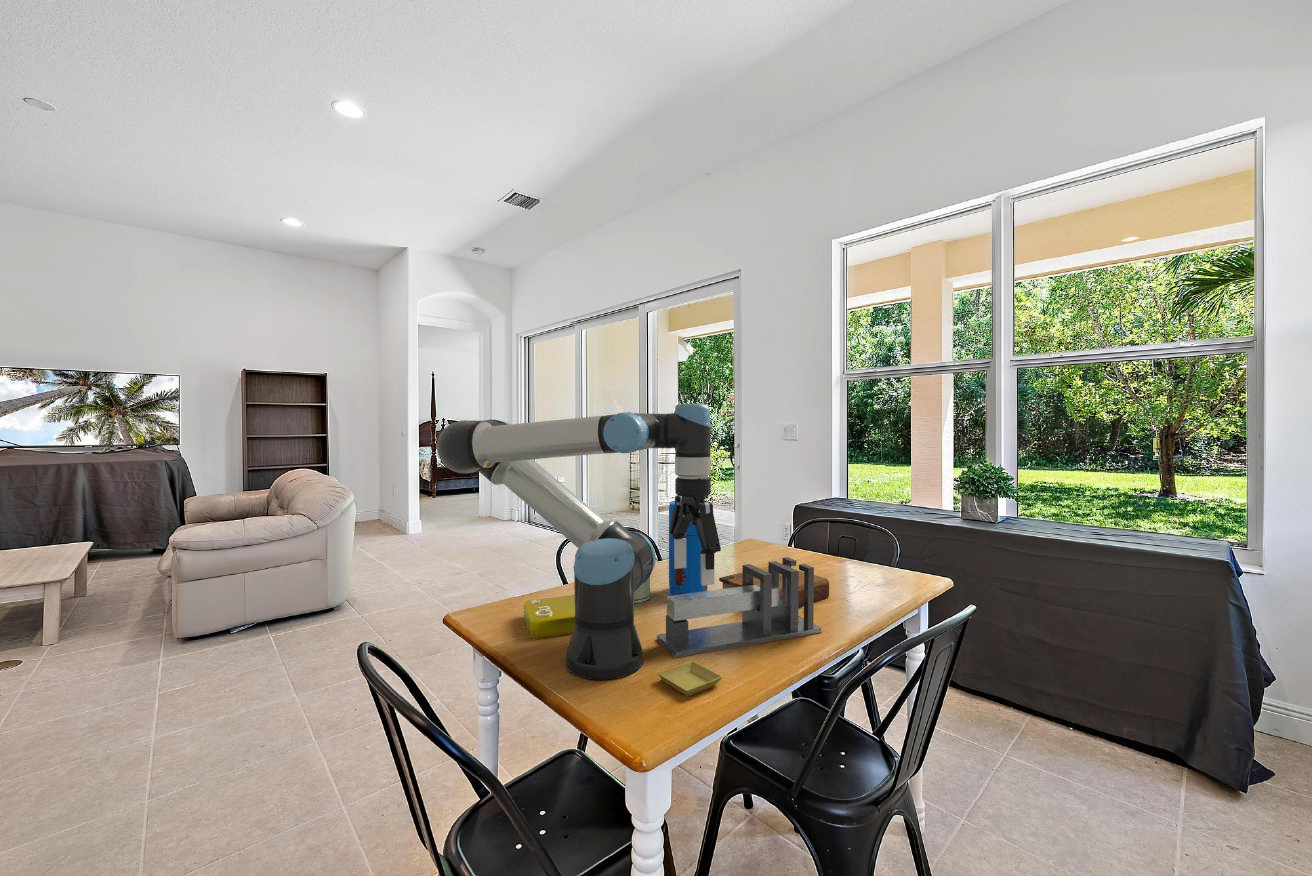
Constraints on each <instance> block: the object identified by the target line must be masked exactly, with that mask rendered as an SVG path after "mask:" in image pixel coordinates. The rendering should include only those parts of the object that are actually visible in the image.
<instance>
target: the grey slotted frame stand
mask: <svg viewBox="0 0 1312 876" xmlns="http://www.w3.org/2000/svg"><path fill="white" fill-rule="evenodd" d="M781 561H782V563H781V562H778V561H776V560H774V561H768V563H767V564H768V565H767V566H768V572H766V571H764V570H762V569H760V568H761V567H760V568H759V567H757V566H755V565H753V564H750V563H747V564H746V563H745V564H742V568H741V570H742V572H741V573H742V587H743V586H751V585H753V577H755V578H757V579H759V580H760V609H753V610H747V611H741V614H742V615H741V621H738V622H737V621H736V622H731V623H725V624H718V625H711V626H705V627H700V628H693V629H692V628H690V629H689V621H688V619H685V620H678V621H674V620H672V619H671V618H670V617H669V616H668V615H667V614H666V615H665V633H659V634H657V635H656V637H657V638H656V639H657V641H659V643H660V644H662V646H664V648H665V649H666V650H668V651H669V653H670V654H671V655H672V656H673V657H674V658H681V657H686V656H691V655H697V654H703V653H710V652H714V651H715V652H717V651H722V650H728V649H733V648H738V647H744V646H751V645H757V644H761V643H766V642H767V643H768V642H773V641H780V640H785V639H792V638H797V637H802V636H807V635H814V634H821V633H822V631H823V630H822V627H821V626H819V625H817V624H815V623H814V607H815V605H814V603H815V602H814V575H815V567H814V566H811V565H809V564H806V563H800V564H798V570H797V569H795V568H793V567H796V566H797V560H796V559H793V558H791V557H788V556H786V557H785V556H784V557H782V560H781ZM799 571H801V572H804V605H803V617H802V616H800V615H799V607H798V586H799ZM779 573H780V574H782V600H781V599H780V606H774V607H772V608H771V605H772V584H774V585H776V586H778V587H779Z"/></svg>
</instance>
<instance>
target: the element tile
mask: <svg viewBox="0 0 1312 876" xmlns="http://www.w3.org/2000/svg"><path fill="white" fill-rule="evenodd" d="M523 621H524V623H525V626H526V628H527V631H528V634H529V637H531V638H533V637H535V638H534V639H544V638H543V637H545V638H551V637H557V636H565V635H572V633H573V629H574V626H575V594H573V595H564V596H555V597H548V598H539V599H538V598H537V599H529V600H525V602H524V603H523Z"/></svg>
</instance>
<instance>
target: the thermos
mask: <svg viewBox="0 0 1312 876" xmlns="http://www.w3.org/2000/svg"><path fill="white" fill-rule="evenodd" d="M705 503H708V502H707V501H705ZM674 506H675V500H673V501H670V502H669V506H668V530H669V529H670V525H671V520H672V515H673V510H674ZM674 528H675V527H674ZM686 535H687V537H684V538H685V539H686V568H678V569H675V568H674V538H673V536H672V534H670V533H669V532H668V586H669V587H668V589H669V590H668V591H669V594H670V596H673V595H680V594H688V593H696V592H704V591H708V587H709V585H704V586H702V585H701V554H700V552H701V550H702V546H701V543H700V540H699V537H698V534H697V531H696V528H695V525H693V524H692V522H690V524H689V526H688V529H687V531H686Z"/></svg>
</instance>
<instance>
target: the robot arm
mask: <svg viewBox="0 0 1312 876" xmlns="http://www.w3.org/2000/svg"><path fill="white" fill-rule="evenodd" d="M710 412H711V409H710V407H709V405H707V404H705V403H678V404H676V405H675V407H674V411H673V412H670V413H644V412H643V413H640V412H638V413H637V412H634V413H633V412H632V411H631V412H630V411H629V412H628V411H626V412H625V411H623V412H618V413H616V414H607V415H606V414H605V415H595V416H594V415H593V416H585V417H573V418H564V419H553V420H542V421H533V422H522V423H514V424H513V423H512V424H510V423H509V422H507V421H503V420H498V419H485V420H468V419H467V420H464V419H463V420H458V421H455V422H452V423H450V424H449V425H447V426H446V427H445V428H444V429H443V430H442V431H441V432H440V434H439V436H438V438H437V443H436V452H437V456H438V458H439V460H440V462H441V463H442V465H444V466H445V467H446V468H447V469H449V470H451V471H453V472H454V473H455V472H456V473H457V474H458V473H459V474H473V473H480V474H481V475H482V476H483V477H485V478H486V479H487V480H488V481H489V482H490V483H492V484H493V485H494V486H498V485H499V486H500V485H504V486H505V487H507V488H508V490H510V491H511V492H513V493H514V494H515V495H516V497H518V498H519V499H520V500H522V501H523V502H524V503H525V504H526V505H527V506H529V508H531V509H532V510H533V511H534V512H536V514H538V515H539V516H540V517H542V518H543V520H545V521H546V522H547V523H548V524H550V526H552V527H553V528H554V529H555V530H557V531H558V532H559V533H560V534H561V535H562V536H563V537H564V538H565V539H567V540H568V541H569V542H570V543H572V544H573V546H575V547H576V548H577V550H576V552H575V554H574V562H573V563H574V564H573V575H574V577H573V578H574V581H573V583H574V584H573V585H574V595H575V626H574V629H573V633H572V634H571V635H570V639H569V642H568V646H567V649H566V653H565V667H566V668H567V670H568V671H569V672H570V673H572V674H573V675H575V676H577V677H579V678H584V679H589V680H598V681H599V680H603V681H604V680H614V679H619V678H624V677H626V676H630V675H632V674H633V673H635V672H637V671H638V670H640V668H641V667H642V665H643V663H644V662H643V661H644V658H643V657H644V655H643V653H644V652H643V651H644V650H643V646H642V644H641V641H640V638H639V634H638V631H637V629H636V628H637V627H636V625H635V603H634V592H635V591H636V590H637V589H638V588H639V587H640V586H641V585H642V584H643V583H645V582H646V581H647V579H648V578H649V577H650V578H651V575H652V572H653V571H654V568H655V565H656V551H655V549H654V546H653V543H652V542H651V541H650V540H649V538H648V537H647V536H646V535H644V534H642V533H640V532H638V531H634V530H631V531H630V530H628V529H627V527H625V526H623V525H622V524H621V523H620V522H619V521H617V520H616V519H614V520H613V519H612V520H606V519H605V518H603V517H602V516H601V515H599V514H598V512H596V511H595V510H594V509H593V508H591V507H590V506H589V505H588V504H587V503H586V502H584V501H583V500H582V499H581V498H580V497H579V496H578V495H576V494H575V493H574V492H573V491H571V490H570V489H569V488H568V487H566V486H565V485H564V484H563V483H562V482H560V481H559V480H558V479H557V478H556V477H554V475H553V474H551V473H550V472H549V471H547V470H546V469H545V468H544V466H543V467H542V466H541V464H539V463H538V462H537V461H536V460H541V459H543V460H544V459H552V458H553V459H554V458H564V457H565V458H567V457H576V456H577V457H579V456H591V455H603V454H619V453H620V454H631V453H635V452H637V451H642V450H649V449H674V451H675V452H674V453H675V455H674V474H675V476H677V477H676V478H675V480H674V483H675V485H674V487H675V488H674V493H675V494H676V495H675V497H674V501H675V506H674V510H673V515H672V520H671V525H670V529H669V528H668V534H669V533H670V534H672V536H673V538H674V568H675V569H678V568H686V539H685V538H684V537H687V535H686V531H687V529H688V526H689V524H690V522H692V524H693V525H695V528H696V531H697V534H698V537H699V540H700V543H701V546H702V550H701V552H700V554H701V585H702V586H704V585H708V586H710V585H715V553H718V552H719V553H720V552H721V550H722V547H721V544H720V543H721V542H720V537H719V534H718V529H717V524H716V520H715V515H714V505H713V503H712V502H707V503H705V502H706V501H705V500H706V499H705V497H707V496H710V495H711V493H712V491H711V490H712V486H711V485H712V484H711V483H712V481H711V480H712V479H711V478H710V477H709V476H710V475H711V465H712V462H713V461H712V460H711V456H712V455H711V449H712V447H711V444H712V442H711V441H712V440H711V439H712V438H711V437H712V436H711V435H712V434H711V433H712V424H711V413H710ZM674 527H675V528H674Z"/></svg>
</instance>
